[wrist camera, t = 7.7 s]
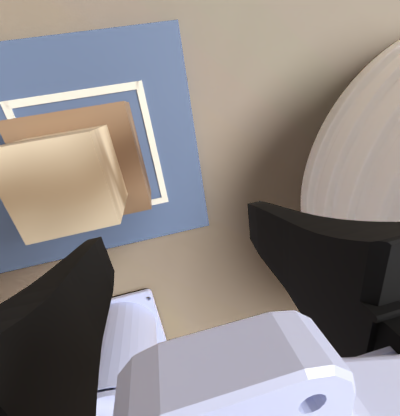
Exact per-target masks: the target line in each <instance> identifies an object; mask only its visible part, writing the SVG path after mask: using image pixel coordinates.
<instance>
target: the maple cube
mask: <svg viewBox="0 0 400 416" xmlns="http://www.w3.org/2000/svg"><path fill="white" fill-rule="evenodd" d="M127 196H128V193H127V190H126V187H125V183H124V180H123V177H122V173H121V170H120V167H119V163H118V160H117V157H116V153H115V150H114V147H113V143H112V140H111V137H110V133H109V130H108V127H107V125H101V126H95V127H90V128H84V129H78V130H73V131H67V132H61V133H55V134H50V135H44V136H38V137H33V138H27V139H23V140H19V141H15V142H11V143H7V144H3V145H0V198H1V200H2V202H3V204H4V206H5V208H6V210H7V211H8V213H9V215H10V217H11V219H12V221H13V222H14V224H15V226H16V228H17V230H18V232H19V234H20V235H21V237H22V239H23V241H24V243H25V245H30V244H34V243H39V242H43V241H48V240H52V239H57V238H61V237H65V236H70V235H74V234H79V233H83V232H88V231H92V230H97V229H101V228H106V227H110V226H115V225H119V224H121V221H122V217H123V213H124V208H125V204H126V200H127Z"/></svg>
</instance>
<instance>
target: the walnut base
mask: <svg viewBox="0 0 400 416" xmlns="http://www.w3.org/2000/svg"><path fill="white" fill-rule="evenodd" d="M101 125H107V127H108V130H109V133H110V137H111V140H112V143H113V147H114V150H115V153H116V157H117V160H118V163H119V167H120V170H121V173H122V177H123V180H124V183H125V187H126V190H127V193H128V196H127V200H126V204H125V208H124V213H123V215H127V214H131V213H136V212H141V211H145V210H150V209H152V203H151V188H150V184H149V180H148V176H147V172H146V168H145V164H144V160H143V156H142V152H141V148H140V144H139V140H138V136H137V132H136V128H135V124H134V120H133V116H132V112H131V108H130V104H129V102H126V101H120V102H114V103H107V104H101V105H95V106H89V107H82V108H76V109H70V110H63V111H57V112H51V113H45V114H38V115H32V116H26V117H19V118H13V119H7V120H1V121H0V134H1V136H2V138H3V140H4V142H5V144H7V143H11V142H15V141H19V140H23V139H27V138H33V137H38V136H44V135H50V134H55V133H61V132H67V131H73V130H78V129H84V128H90V127H95V126H101Z"/></svg>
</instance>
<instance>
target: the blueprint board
mask: <svg viewBox="0 0 400 416" xmlns="http://www.w3.org/2000/svg"><path fill="white" fill-rule="evenodd" d="M120 101H126V102H129V104H130V108H131V112H132V116H133V120H134V124H135V128H136V132H137V136H138V140H139V144H140V148H141V152H142V156H143V160H144V164H145V168H146V172H147V176H148V180H149V184H150V188H151V203H152V209H150V210H145V211H141V212H136V213H131V214H127V215H123V217H122V221H121V224H119V225H115V226H110V227H106V228H101V229H97V230H92V231H88V232H83V233H79V234H74V235H70V236H65V237H61V238H57V239H52V240H48V241H43V242H39V243H34V244H30V245H25V243H24V241H23V239H22V237H21V235H20V234H19V232H18V230H17V228H16V226H15V224H14V222H13V221H12V219H11V217H10V215H9V213H8V211H7V210H6V208H5V206H4V204H3V202H2V200H1V198H0V273H4V272H8V271H12V270H17V269H21V268H25V267H30V266H34V265H38V264H43V263H47V262H52V261H56V260H60V259H64V258H65V257H66V256H68V255H69V254H70V253H71V252H72V251H74V250H75V249H76V248H77V247H78V246H80V245H81V244H82V243H83V242H85V241H86V240H88V239H93V238H97V237H102V240H103V243H104V245H105V248H106V249H108V248H112V247H117V246H121V245H125V244H130V243H134V242H139V241H143V240H147V239H152V238H156V237H160V236H165V235H169V234H173V233H178V232H182V231H186V230H191V229H195V228H199V227H204V226H208V225H209V221H208V215H207V208H206V202H205V195H204V189H203V182H202V175H201V169H200V162H199V156H198V149H197V142H196V136H195V129H194V123H193V116H192V110H191V103H190V96H189V90H188V83H187V77H186V70H185V63H184V57H183V50H182V44H181V37H180V31H179V24H178V20H171V21H163V22H155V23H146V24H138V25H130V26H122V27H114V28H106V29H97V30H89V31H81V32H73V33H65V34H57V35H48V36H40V37H32V38H24V39H16V40H8V41H0V121H1V120H7V119H13V118H19V117H26V116H32V115H38V114H45V113H51V112H57V111H63V110H70V109H76V108H82V107H89V106H95V105H101V104H107V103H114V102H120ZM3 144H5V142H4V140H3V138H2V136H1V134H0V145H3Z"/></svg>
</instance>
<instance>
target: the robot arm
mask: <svg viewBox="0 0 400 416" xmlns="http://www.w3.org/2000/svg"><path fill="white" fill-rule="evenodd" d="M248 215H249V229H250V239H251V241H252V243H253V245H254V247H255V248H256V250H257V252H258V254H259V255H260V256H261V258H262V259H263V260H264V262H265V263H266V264H267V266H268V267H269V268H270V269H271V271H272V272H273V273H274V275H275V276H276V277H277V278H278V280H279V281H280V282H281V284H282V285H283V286H284V288H285V289H286V291H287V292H288V293H289V295H290V297H291V298H292V300H293V302H294V303H295V305H296V306H297V308H298V310H299V311H300V313H299V312H297V311H295V310H286V311H272V312H266V313H263V314H259V315H255V316H252V317H248V318H245V319H241V320H238V321H234V322H231V323H227V324H224V325H220V326H217V327H213V328H209V329H206V330H202V331H199V332H195V333H192V334H188V335H185V336H181V337H178V338H174V339H171V340H166V337H165V333H164V330H163V327H162V324H161V320H160V317H159V314H158V311H157V307H156V304H155V301H154V297H153V294H152V291H151V290H150V289H145V290H141V291H137V292H133V293H129V294H125V295H121V296H117V297H113V298H112V294H113V286H114V269H113V267H112V264H111V261H110V259H109V256H108V253H107V251H106V248H105V245H104V243H103V240H102V237H97V238H93V239H88V240H86V241H85V242H83V243H82V244H81V245H80V246H78V247H77V248H76V249H75V250H74V251H72V252H71V253H70V254H69V255H68V256H66V257H65V258H64V259H63V260H62V261H60V262H59V263H58V264H57V265H56V266H54V267H53V268H52V269H50V270H49V271H48V272H47V273H45V274H44V275H43V276H41V277H40V278H39V279H38V280H36V281H35V282H33V283H32V284H31V285H29V286H28V287H26V288H25V289H23V290H22V291H20V292H19V293H17V294H16V295H14V296H13V297H11V298H9V299H8V300H6V301H4V302H3V303H1V304H0V416H400V222H375V221H356V220H344V219H336V218H329V217H323V216H317V215H312V214H308V213H303V212H299V211H295V210H291V209H288V208H284V207H281V206H277V205H274V204H270V203H266V202H260V201H259V202H254V203H250V204H248ZM146 297H150V298H146Z"/></svg>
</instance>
